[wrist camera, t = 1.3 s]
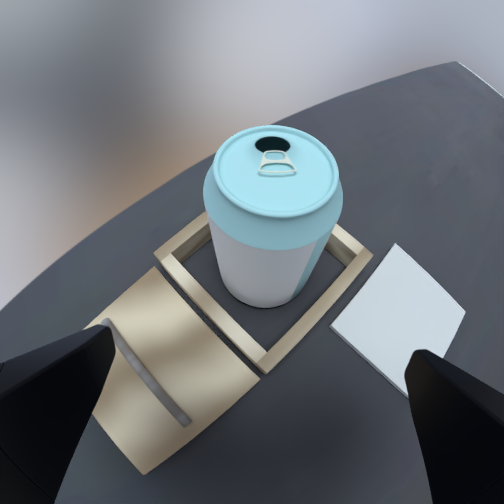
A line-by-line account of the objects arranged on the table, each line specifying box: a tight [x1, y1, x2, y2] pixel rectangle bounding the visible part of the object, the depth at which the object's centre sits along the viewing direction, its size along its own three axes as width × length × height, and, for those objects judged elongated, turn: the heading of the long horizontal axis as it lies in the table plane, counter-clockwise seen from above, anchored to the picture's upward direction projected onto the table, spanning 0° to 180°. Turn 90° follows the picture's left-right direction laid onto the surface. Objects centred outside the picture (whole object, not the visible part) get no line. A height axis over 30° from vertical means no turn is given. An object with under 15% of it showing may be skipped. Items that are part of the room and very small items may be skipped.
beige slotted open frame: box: [83, 211, 373, 475], centre depth 20 cm, size 12×24×2 cm, turn 135°
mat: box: [329, 244, 465, 399], centre depth 21 cm, size 10×10×1 cm
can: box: [203, 125, 343, 308], centre depth 18 cm, size 7×7×12 cm
